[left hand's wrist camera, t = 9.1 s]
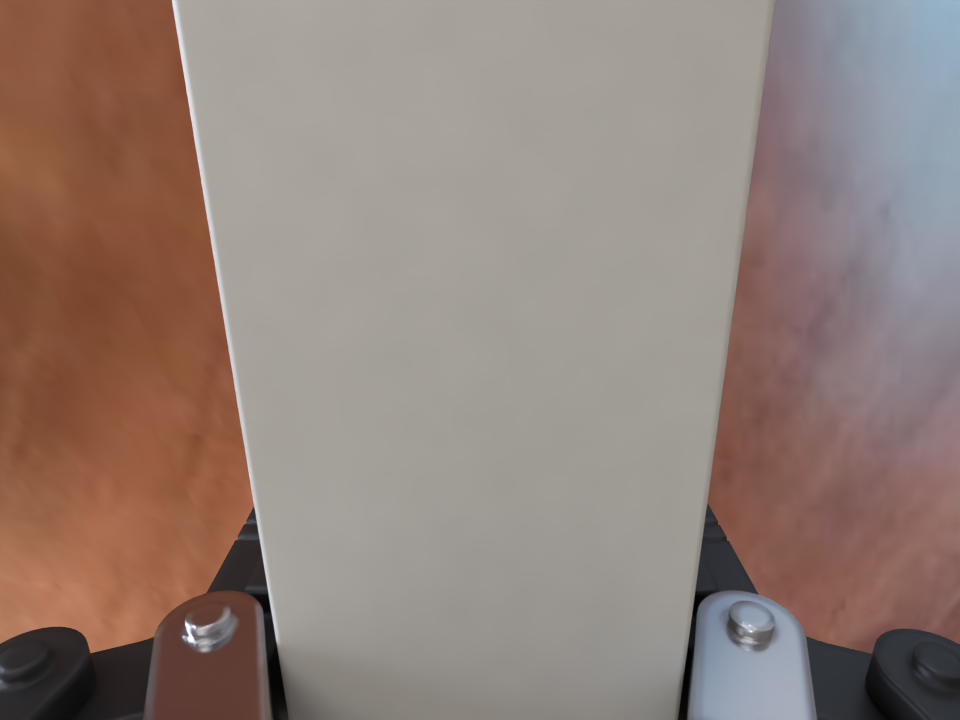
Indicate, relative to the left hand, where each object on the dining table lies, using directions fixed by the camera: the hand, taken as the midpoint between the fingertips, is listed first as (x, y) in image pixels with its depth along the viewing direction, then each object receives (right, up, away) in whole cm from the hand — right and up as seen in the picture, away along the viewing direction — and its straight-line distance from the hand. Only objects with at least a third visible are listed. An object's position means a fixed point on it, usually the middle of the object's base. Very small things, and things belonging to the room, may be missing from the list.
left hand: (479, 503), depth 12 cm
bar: (0, +18, -4) cm, 18 cm away
